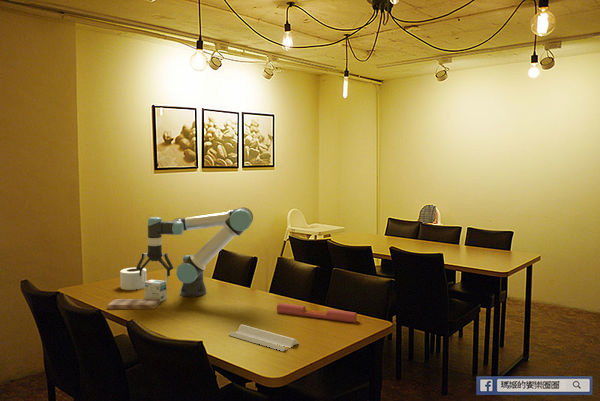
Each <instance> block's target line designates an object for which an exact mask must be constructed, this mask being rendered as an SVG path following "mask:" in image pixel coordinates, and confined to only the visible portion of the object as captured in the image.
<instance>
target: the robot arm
mask: <svg viewBox="0 0 600 401" xmlns="http://www.w3.org/2000/svg"><path fill="white" fill-rule="evenodd" d="M253 220H254V215H253V212H252V210H251V209H249V208H247V207H245V206H244V207H243V206H242V207H238V208H234V209H230V210H228V211H226V212H225V211H224V212H217V213H211V214H210V213H209V214H204V215H196V216H189V217H182V218H181V217H177V218H174V219H173V220H167V221H165V220H164V221H163V220H162V217H158V216H151V217H149V218H148V219H147V252H146V253H145V252H143V253H141V258H140V260H139V261H138V264H137V266H136V269H138V270H139V271H140V276H141V282H144V270H142V269H143V268H146V266H147V265H148V264H149V262H159V263H160V264H161V265H162V266H163V267H164V268H165V269H166V270H165V281H166V283H168V282H169V277H170V276H171V271H172V270H173V269H174V266H173V264H172V263H171V260H170V258H169V256H168V255H169V254H168V252H165V253H163V252H162V251H163V250H162V247H163V245H162V244H163V241H162V238H163V237H162V235H168V236H169V235H170V236H171V235H172V236H173V235H175V236H179V235H180V236H182V235H183V234H184V232H185V231H191V230H199V229H200V230H201V229H206V228H215V227H221V228H220V229H219V230H218V231H217V232H216V233H215V234H214V235H213V236H212V237H211V238H210V239H209V240H208V241H207V242H206V243H205V244H204V245H203V246H202V247H201V248H200V249H198V251H197V252H196V253H194V254H188V255H184V256H182V263H181V264H179V265H178V266H177V269H176V272H175V273H176V277H177V279H178V280H179V281H180V282H181V283H182V284H181V288H180V291H179V292H180V295H181V296H183V297H191V298H192V297H193V298H194V297H200V296H203V295H206V294H207V287H206V284H205V280H204V271H205V270H206V266H207V265H208V264H209V262H211V261H212V260H213V259H214V258H215V256H216V255H218V254H219V252H220V251H222V250H223V249H224V248H225V247H226V245H228V244H229V242H231V241H232V240H233V239H234V238H235V237H240V236H241V235H242V234H243V233H244V232H245V231H246V230H248V229H249V228H250V226H251V225H252V222H253ZM146 257H147V258H148V259H147V260H146V261H145V262H144V260H145V258H146ZM162 257H163V258H164V259H165V261H164V259H163V258H162ZM143 262H144V263H143Z"/></svg>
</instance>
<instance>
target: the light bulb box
mask: <svg viewBox="0 0 600 401" xmlns="http://www.w3.org/2000/svg"><path fill="white" fill-rule="evenodd" d="M167 285H168V284H167V282H166V280H159V279H149V280H147V281H145V282H144V288H143V289H144V299H160V303H161V302H164V301H166V300H168V294H167V293H168V291H167V290H168V289H167V287H168V286H167Z"/></svg>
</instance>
